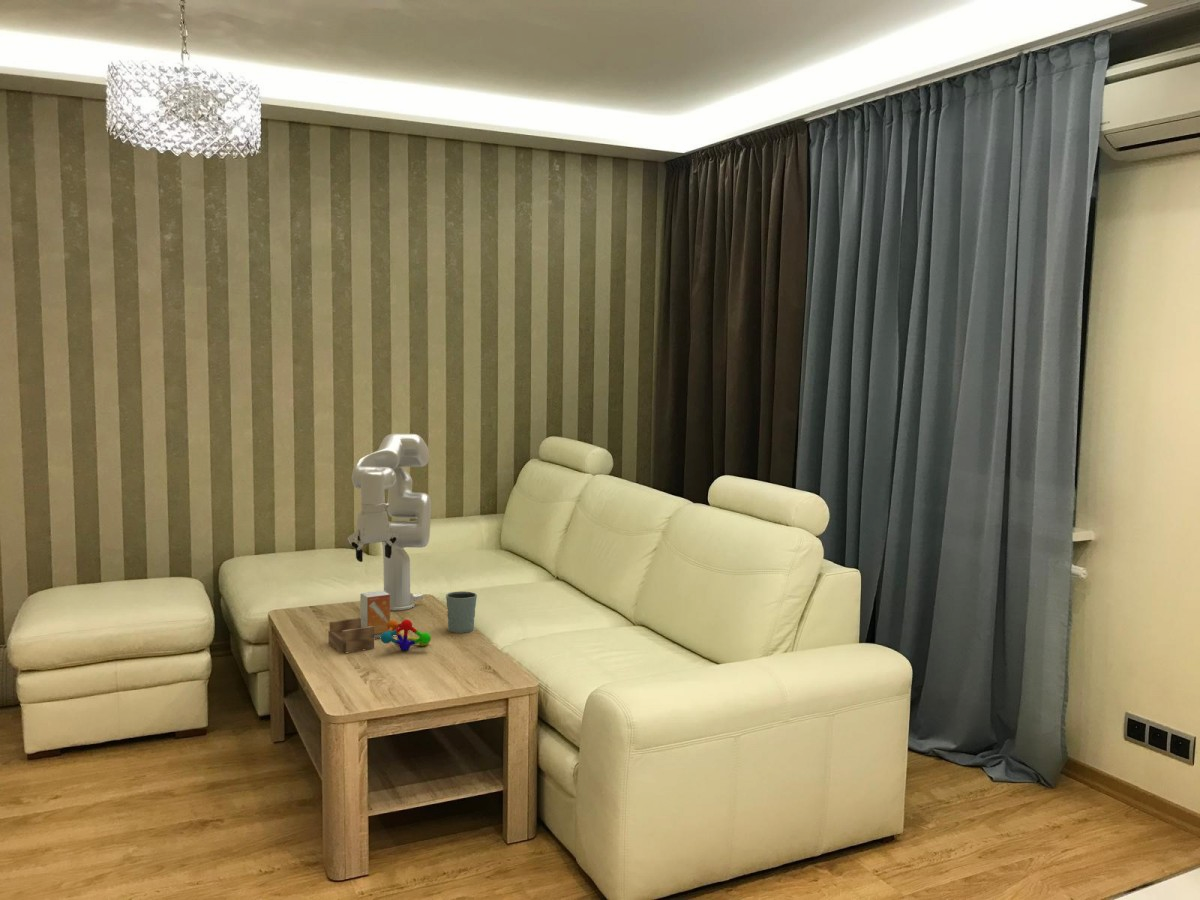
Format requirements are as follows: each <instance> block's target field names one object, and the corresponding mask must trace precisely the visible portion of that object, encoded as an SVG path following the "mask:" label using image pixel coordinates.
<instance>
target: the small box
mask: <svg viewBox="0 0 1200 900" xmlns="http://www.w3.org/2000/svg"><path fill="white" fill-rule="evenodd" d="M359 595H360V596H359V597H360V599H359V600H360V601H359V602H360V608H359V609H360V614H359V615H360V617H359V618H361V628H362V627H369V626H374V634H381V633H384V632H388V630H389V629H388V628H387V624H388V622H389V621H391V610H390V594H388V593H386V592H385V591H384V590H376V591H368V592H361V593H360V594H359Z"/></svg>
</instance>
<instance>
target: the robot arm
mask: <svg viewBox="0 0 1200 900" xmlns="http://www.w3.org/2000/svg"><path fill="white" fill-rule="evenodd" d="M429 461H430V450H429V447H428V445H427V443H426V442H425V440H424V439H423V438H422V436H421V435H419V434H416V433H390V434H388V435H385V437H383V439H382V441H381V443H380V445H379V446H378V449H377V450H376V451H373V452H372V453H369V454H367V455H365V456H363V457H361V458H359V460H358V461H357V462H356V463H355V466H354V468H353V469H352V474H351V482H352V485H353V486H354V487H355V488H357V489H358V490H360V502H361V503H360V504H361V505H360V509H361V511H360V512H358V515H357V522H356V531H355V532H353V533H352V534H350V535H349V536H348V537H347V540H348V542H349V544H350V545H351V546H352V547H353V548H354V549H355V558H356V561H358V562H360V563H362V562H363V558H364V554H363V553H364V552H363V550H362V548H363V547H364V545H366V544H375V543H381V545H382V555H383V561H382V562H383V565H382V566H383V591H385V592H386V593H388V594H390V611H404V610H405V611H406V610H410V609H412V607H413V608H414V607H416V606H415V605H416V604H415V601H416V600H423V599H424V596H423V593H418V594H417V593H412V592H411V559H410V556H409V554H408V552H407V551H406V550H405V549H404V548H425V547H427V546H428V544H429V541H430V535H431V518H432V500H431V497H430V495H429V494H428V493H426V492H413V478H412V477H411V475H410V474H409V472H408V471H407V470H406V469H405V468H404V467H406V468H409V467H410V468H412V467H413V468H422V467H423V468H424V467H426V466H427V465H428V463H429ZM385 490H387V491H388V493H387V503H386V501H385V500H386V498H385ZM386 509H387V510H386ZM388 516H389V517H391V518H395V519H416V520H417V521H415V520H414V521H413V520H409V521H408V520H389V518H388ZM354 539H356V540H357V542H355V540H354Z"/></svg>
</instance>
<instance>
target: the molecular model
mask: <svg viewBox="0 0 1200 900" xmlns="http://www.w3.org/2000/svg"><path fill="white" fill-rule="evenodd" d="M387 628H388V629H389V630H388V632H384V633H382V635H381V638H380V641H381V642H382V643H383V644H389V643H390V642H391V643H394V644H396V645H398V647H399V649H400V650H402V651H403V650H406V651H408V650H409V649H411V646H414V645H420V646H422V645H425V646H427V645H429V643H430V642H431V640H432V636H431V634H430V633H429V632H426V631H425V632H420V631H419V630H418V629H416V628H415V627H414V626H413V622H412V620H410V619H404V620H402V621H401V623H398V621H397V620H395V619H390V621H389V622H388V624H387ZM392 631H393V632H392ZM402 631H403V632H402ZM409 631H411V632H412V633H414V634H415V635H417V636H418V637H410V636H408V634H409ZM401 632H402V633H401ZM395 634H396V635H397V636H396V639H395V638H394V636H393V635H395ZM392 636H393V637H392Z"/></svg>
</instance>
